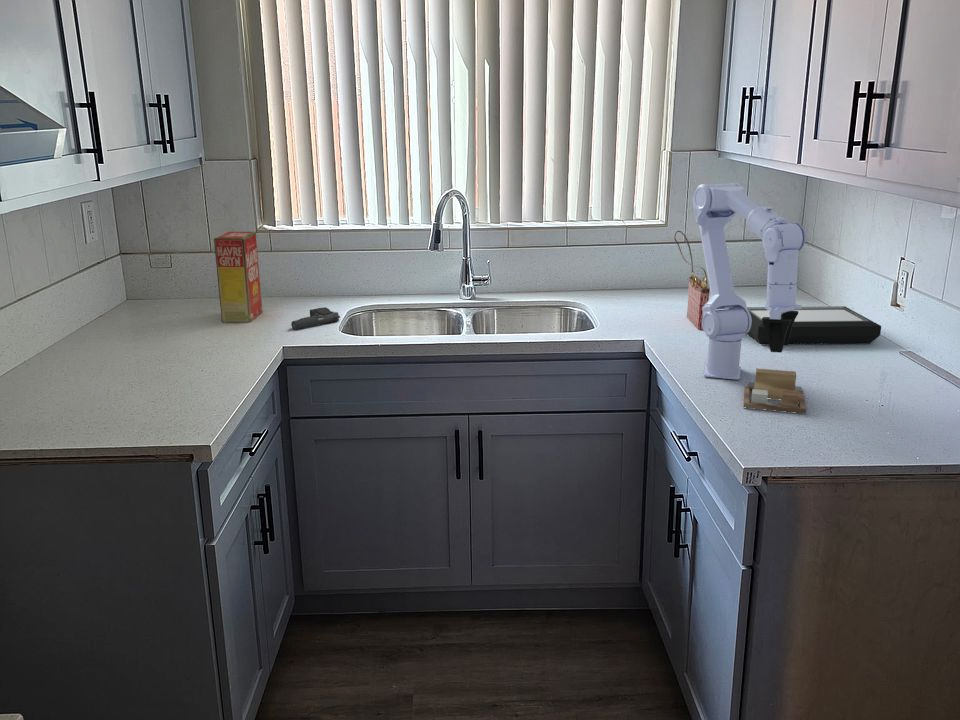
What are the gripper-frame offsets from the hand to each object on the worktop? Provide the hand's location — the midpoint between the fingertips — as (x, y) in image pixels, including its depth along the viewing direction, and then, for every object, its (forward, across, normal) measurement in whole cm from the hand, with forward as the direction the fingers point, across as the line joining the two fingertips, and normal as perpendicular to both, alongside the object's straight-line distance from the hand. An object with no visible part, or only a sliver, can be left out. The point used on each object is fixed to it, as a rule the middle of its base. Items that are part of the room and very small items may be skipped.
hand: (779, 348), depth 168 cm
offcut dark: (+12, -2, -3) cm, 13 cm away
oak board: (+12, +3, +1) cm, 12 cm away
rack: (+12, +1, +1) cm, 12 cm away
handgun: (+2, +9, +132) cm, 133 cm away
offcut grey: (+12, -3, +3) cm, 13 cm away
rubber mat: (+11, +9, +2) cm, 14 cm away
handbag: (+6, +59, +34) cm, 68 cm away
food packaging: (+1, +4, +154) cm, 155 cm away
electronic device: (+8, +58, +2) cm, 58 cm away
